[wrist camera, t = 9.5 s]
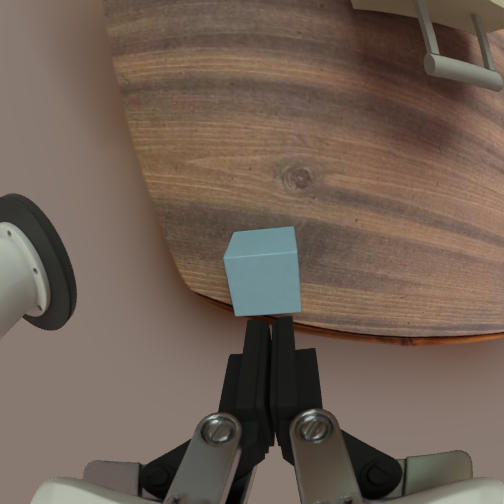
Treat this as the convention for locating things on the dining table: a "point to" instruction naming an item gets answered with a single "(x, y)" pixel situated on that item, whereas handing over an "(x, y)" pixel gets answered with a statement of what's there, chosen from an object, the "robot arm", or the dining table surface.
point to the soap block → (263, 272)
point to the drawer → (456, 16)
